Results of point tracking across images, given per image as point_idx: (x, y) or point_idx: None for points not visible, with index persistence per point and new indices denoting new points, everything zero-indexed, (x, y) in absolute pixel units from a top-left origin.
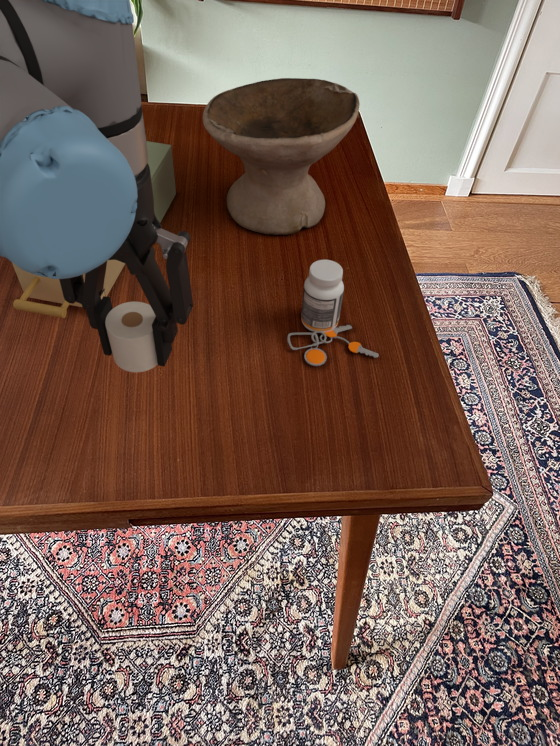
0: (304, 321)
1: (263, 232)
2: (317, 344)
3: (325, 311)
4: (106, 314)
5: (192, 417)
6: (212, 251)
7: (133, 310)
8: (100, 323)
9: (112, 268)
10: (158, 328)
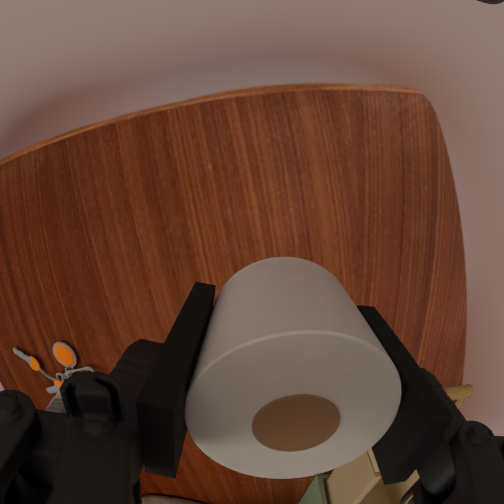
0: None
1: (179, 499)
2: (66, 371)
3: (52, 410)
4: (396, 425)
5: (200, 249)
6: (232, 486)
7: (297, 454)
8: (418, 386)
9: (351, 464)
10: (117, 386)
